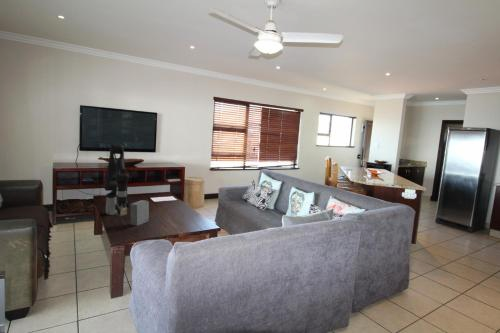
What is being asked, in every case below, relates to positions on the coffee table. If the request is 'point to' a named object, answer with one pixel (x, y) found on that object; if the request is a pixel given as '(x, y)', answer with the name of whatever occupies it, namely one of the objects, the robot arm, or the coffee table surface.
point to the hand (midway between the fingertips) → (121, 213)
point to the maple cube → (123, 211)
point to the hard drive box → (139, 212)
